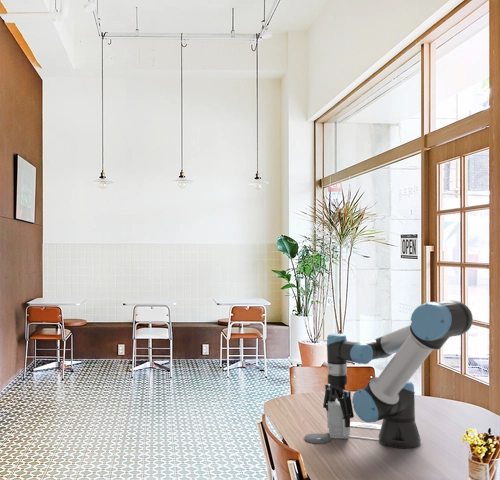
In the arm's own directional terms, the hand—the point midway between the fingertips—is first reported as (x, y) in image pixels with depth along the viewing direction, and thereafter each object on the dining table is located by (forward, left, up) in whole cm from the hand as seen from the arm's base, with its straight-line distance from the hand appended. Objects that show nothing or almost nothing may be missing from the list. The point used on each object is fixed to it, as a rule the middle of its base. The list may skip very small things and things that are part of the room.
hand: (338, 431), depth 200 cm
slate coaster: (0, +10, -2) cm, 10 cm away
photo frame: (-1, -12, -2) cm, 13 cm away
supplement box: (0, 0, -2) cm, 2 cm away
